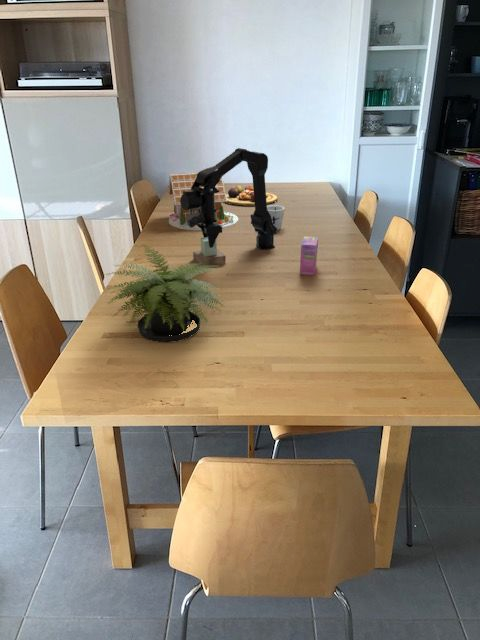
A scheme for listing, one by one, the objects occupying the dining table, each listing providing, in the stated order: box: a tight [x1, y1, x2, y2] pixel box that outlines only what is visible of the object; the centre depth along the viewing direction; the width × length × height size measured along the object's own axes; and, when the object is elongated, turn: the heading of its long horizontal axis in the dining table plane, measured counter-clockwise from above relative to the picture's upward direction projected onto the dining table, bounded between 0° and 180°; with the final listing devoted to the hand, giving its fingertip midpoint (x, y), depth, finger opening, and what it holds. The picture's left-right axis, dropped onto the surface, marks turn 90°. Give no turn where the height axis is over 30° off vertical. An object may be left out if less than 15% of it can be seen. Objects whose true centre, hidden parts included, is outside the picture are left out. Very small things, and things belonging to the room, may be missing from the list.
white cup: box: [267, 204, 286, 231], centre depth 249 cm, size 10×15×10 cm
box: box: [299, 235, 319, 276], centre depth 197 cm, size 10×6×12 cm, turn 168°
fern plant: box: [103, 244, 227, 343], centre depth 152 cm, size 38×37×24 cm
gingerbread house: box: [168, 172, 239, 231], centre depth 258 cm, size 35×35×24 cm
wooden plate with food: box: [225, 184, 278, 207], centre depth 300 cm, size 32×32×8 cm
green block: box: [200, 237, 218, 256], centre depth 205 cm, size 5×5×6 cm
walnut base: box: [192, 248, 227, 268], centre depth 208 cm, size 10×10×4 cm
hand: (208, 245), depth 205 cm, fingers open, 6 cm apart
